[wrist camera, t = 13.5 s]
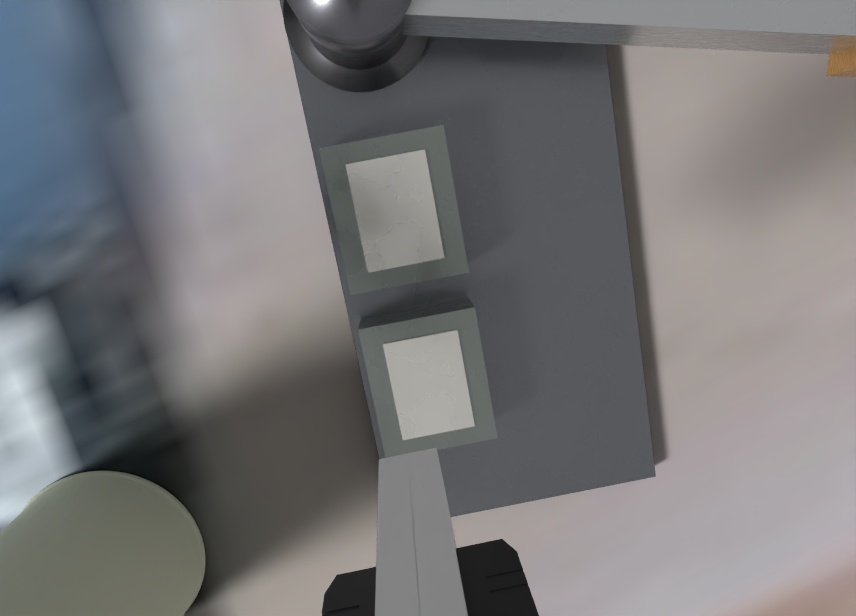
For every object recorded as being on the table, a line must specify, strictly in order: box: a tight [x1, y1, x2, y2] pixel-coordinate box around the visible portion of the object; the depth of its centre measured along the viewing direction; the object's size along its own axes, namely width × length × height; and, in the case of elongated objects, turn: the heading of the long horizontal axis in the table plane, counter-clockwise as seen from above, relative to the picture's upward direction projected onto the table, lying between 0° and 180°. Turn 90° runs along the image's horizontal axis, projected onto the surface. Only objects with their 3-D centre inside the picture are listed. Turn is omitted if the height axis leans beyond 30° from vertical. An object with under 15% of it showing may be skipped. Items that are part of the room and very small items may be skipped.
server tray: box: [280, 0, 656, 517], centre depth 27 cm, size 26×13×3 cm, turn 11°
